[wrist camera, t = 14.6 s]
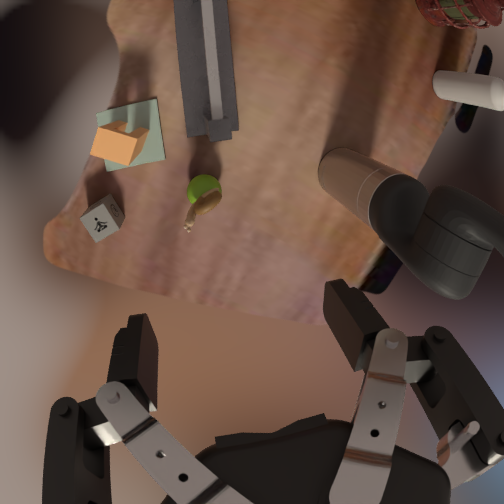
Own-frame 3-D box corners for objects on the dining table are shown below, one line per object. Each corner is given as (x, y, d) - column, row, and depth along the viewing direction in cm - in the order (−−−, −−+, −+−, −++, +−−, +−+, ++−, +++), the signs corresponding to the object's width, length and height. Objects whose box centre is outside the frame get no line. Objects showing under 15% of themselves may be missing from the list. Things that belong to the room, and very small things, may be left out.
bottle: (455, 91, 46) (560, 118, 22) (439, 104, 47) (549, 135, 23) (444, 65, 43) (554, 82, 19) (427, 77, 44) (543, 97, 20)
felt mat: (156, 98, 40) (156, 98, 39) (165, 158, 45) (165, 159, 44) (96, 113, 38) (96, 113, 38) (107, 171, 43) (106, 171, 43)
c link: (149, 129, 41) (137, 139, 32) (141, 150, 43) (128, 166, 33) (118, 120, 39) (98, 127, 30) (111, 141, 41) (90, 154, 31)
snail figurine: (175, 188, 47) (172, 216, 37) (206, 164, 46) (211, 184, 36) (196, 211, 50) (198, 244, 40) (226, 188, 49) (236, 215, 39)
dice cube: (103, 230, 48) (96, 242, 44) (88, 207, 46) (79, 218, 41) (125, 217, 48) (119, 229, 44) (110, 193, 45) (103, 203, 41)
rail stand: (224, -16, 31) (239, -57, 19) (237, 129, 45) (257, 143, 32) (173, -11, 30) (167, -51, 18) (187, 136, 44) (185, 153, 31)
